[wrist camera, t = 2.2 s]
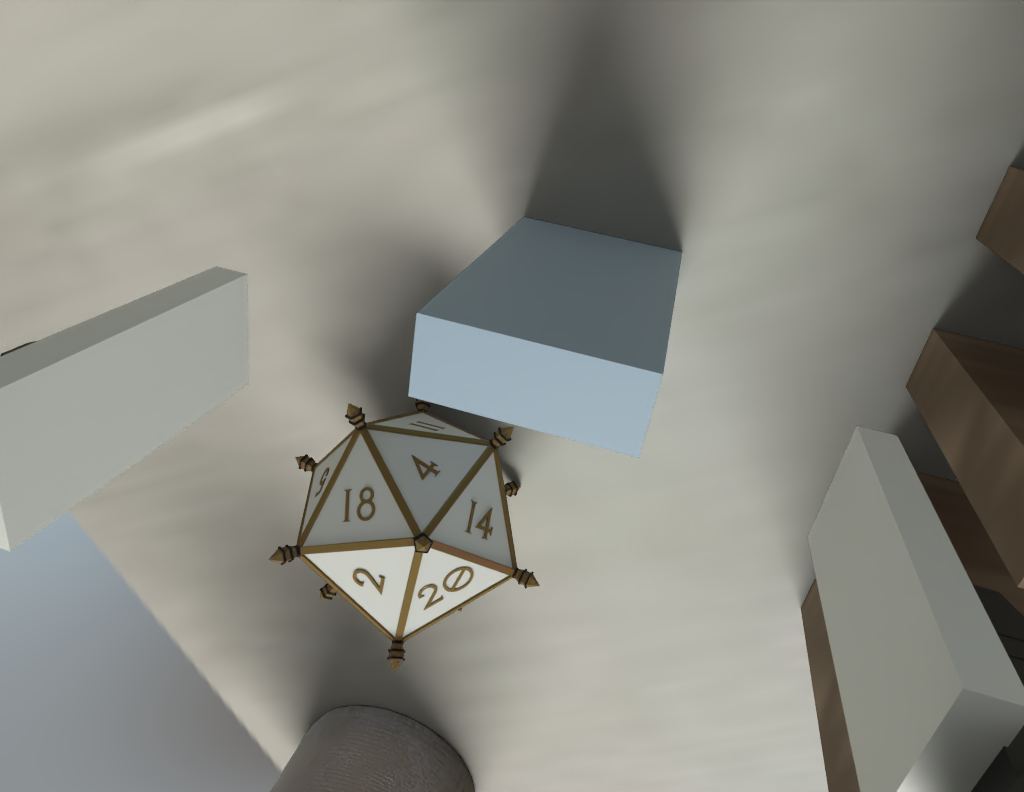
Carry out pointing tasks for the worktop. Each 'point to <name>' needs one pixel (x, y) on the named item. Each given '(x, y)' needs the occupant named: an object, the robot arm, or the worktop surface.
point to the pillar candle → (372, 756)
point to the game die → (408, 521)
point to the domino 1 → (552, 335)
